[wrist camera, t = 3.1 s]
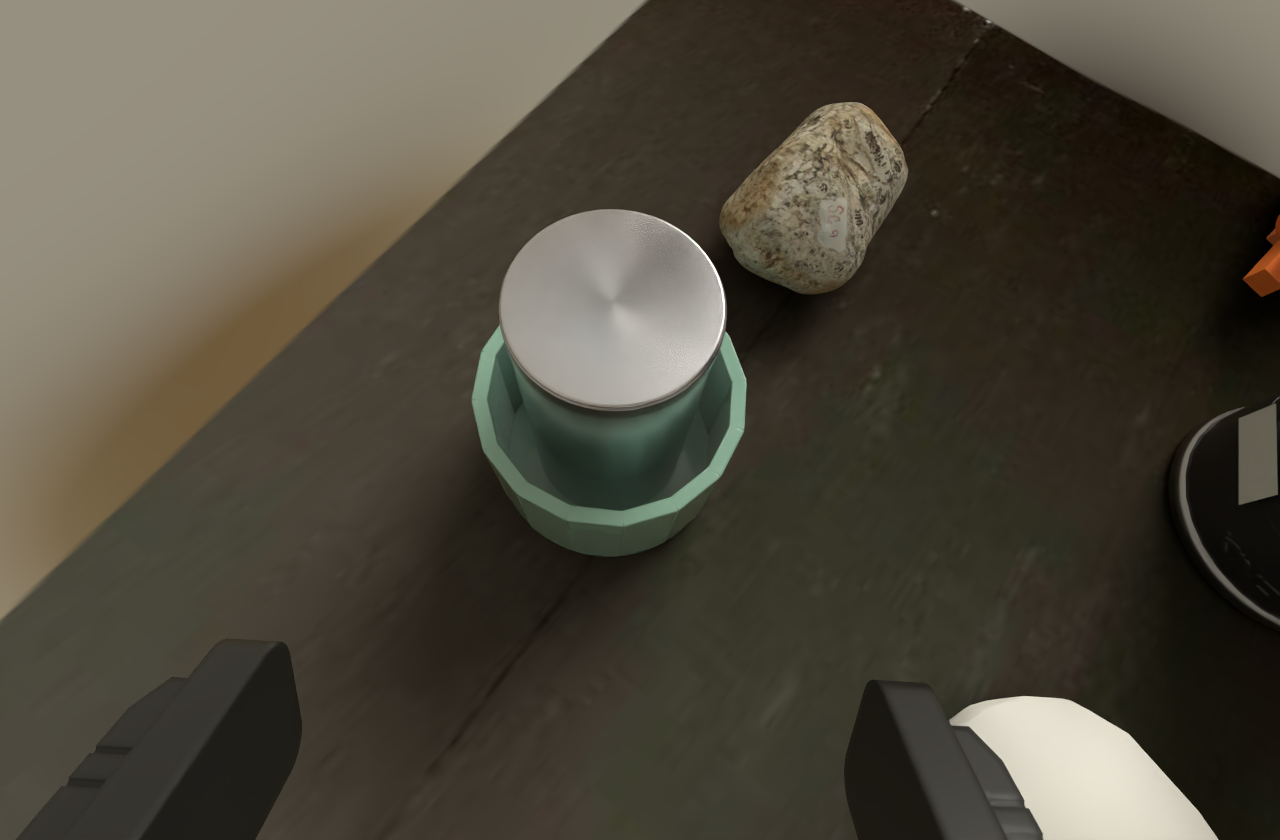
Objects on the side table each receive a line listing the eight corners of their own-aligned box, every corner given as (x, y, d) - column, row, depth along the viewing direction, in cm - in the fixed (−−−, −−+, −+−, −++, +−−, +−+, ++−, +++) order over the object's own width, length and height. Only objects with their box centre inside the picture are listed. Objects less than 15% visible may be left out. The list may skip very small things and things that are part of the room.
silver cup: (620, 352, 29) (631, 171, 18) (710, 454, 27) (775, 320, 17) (508, 431, 27) (451, 283, 17) (597, 543, 26) (593, 456, 16)
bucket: (625, 313, 30) (631, 230, 24) (761, 464, 28) (801, 411, 22) (456, 430, 28) (419, 368, 22) (590, 605, 26) (586, 585, 20)
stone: (690, 256, 31) (701, 188, 27) (819, 137, 33) (850, 54, 29) (794, 344, 30) (825, 289, 25) (921, 215, 32) (972, 142, 27)
